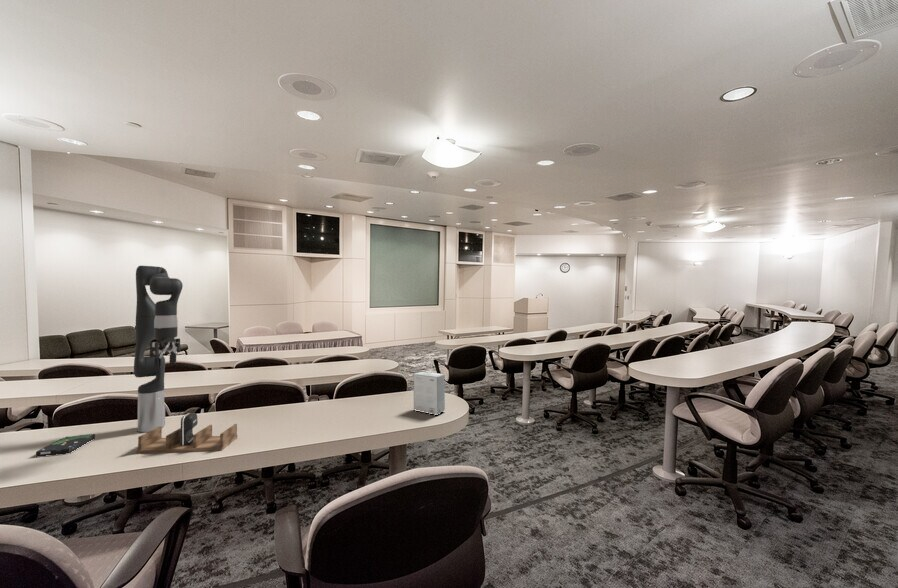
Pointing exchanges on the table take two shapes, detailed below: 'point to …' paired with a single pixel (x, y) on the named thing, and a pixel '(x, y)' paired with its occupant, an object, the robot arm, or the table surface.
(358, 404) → the table surface
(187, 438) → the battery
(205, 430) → the divider rack
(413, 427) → the table surface
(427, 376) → the hard drive box
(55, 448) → the disk drive
